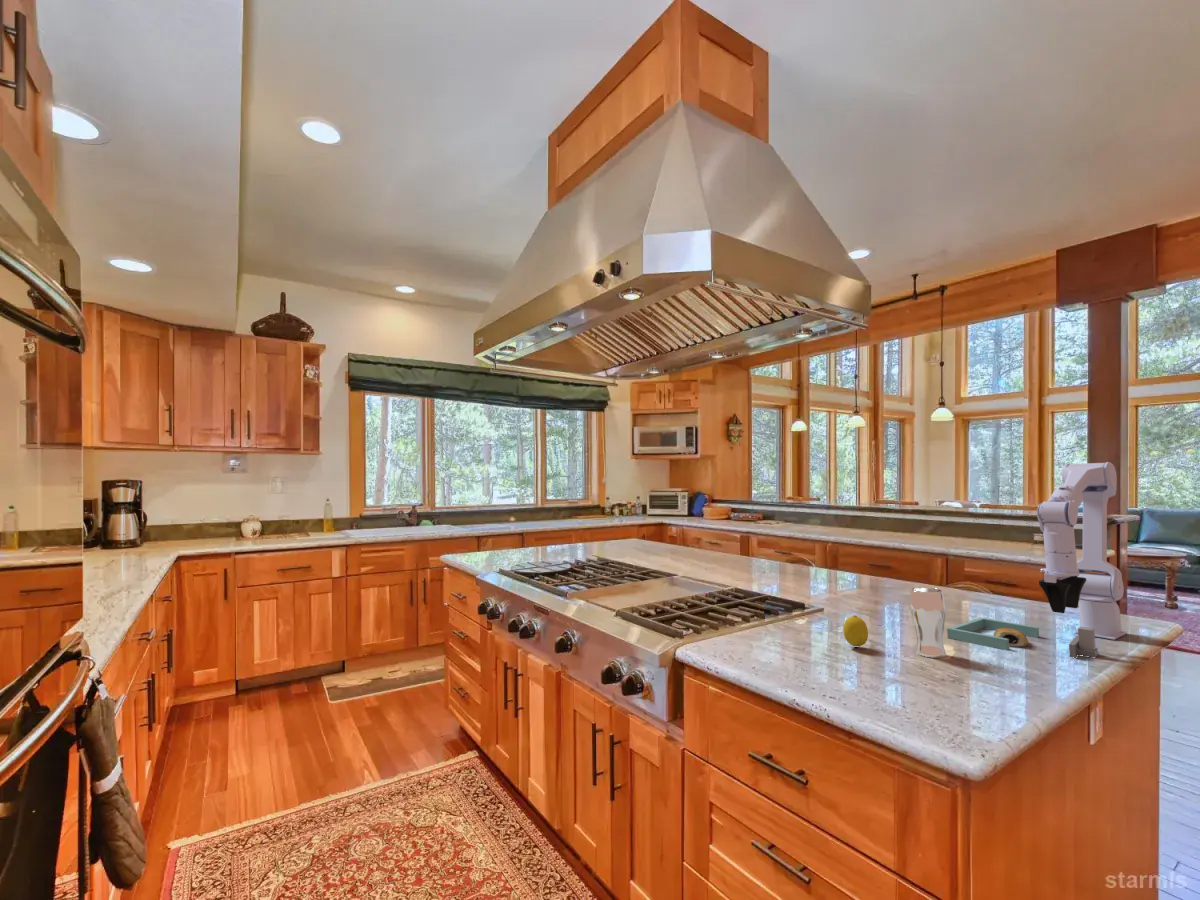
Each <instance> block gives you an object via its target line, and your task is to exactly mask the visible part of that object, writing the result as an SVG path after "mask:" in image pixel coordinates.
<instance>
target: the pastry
mask: <svg viewBox="0 0 1200 900" xmlns="http://www.w3.org/2000/svg"><path fill="white" fill-rule="evenodd" d="M993 636H996V637H1001V638H1006V639H1009V647H1016V648H1025V647H1027V646H1028V645H1029V640H1028V638H1027V636H1025V635H1024V634H1023V633H1022V632H1020V631H1017V630H1015V629H1009V628H1001V629H997V630H994V633H993Z"/></svg>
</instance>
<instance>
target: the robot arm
mask: <svg viewBox="0 0 1200 900" xmlns="http://www.w3.org/2000/svg"><path fill="white" fill-rule="evenodd" d="M1061 479H1062V482H1063V484H1062V485H1060V484H1059V486H1058V487H1056V488H1055V489H1054V491H1053V492H1052V494H1051V495H1050V496H1049V498H1048V499H1047V501H1042V502H1041V503H1039V504H1038V505H1037V508H1036V516H1037V521H1038V522H1039V529H1040V532H1041V533H1043V534H1042V535H1043V545H1044V559H1045V568H1043V567H1042V568H1040V571H1039V572H1041V573H1043V579H1040V580H1038V585H1039V586H1040V588H1041V589H1042V591H1043V592H1044V594H1045V595H1046V598H1047V601H1048V603H1049V605H1050V608H1051V611H1052V612H1053V613H1059V614H1064V613H1065V612H1066V608H1072V609H1078V611H1079V612H1078V613H1079V615H1078V616H1079V625H1080V626H1079V627H1087V628H1094V632H1095V638H1102V639H1107V640H1117V639H1119V638H1121V637H1122V636H1123V637H1124V636H1125V635H1127V634H1128V633H1127V631H1125V630H1122V623H1121V622H1122V621H1121V609H1120V607H1119V605H1118V603H1117V601H1120V600H1121V599H1122V598H1123V596H1124V594H1125V593H1124V592H1125V590H1124V589H1125V586H1124V581H1123V575H1122V572H1121V571H1120V569H1119V568H1118V567H1116V566H1115V565H1114V564H1112V563H1110V562H1108V561H1107V560H1108V556H1107V555H1108V547H1107V546H1108V545H1107V544H1108V541H1107V540H1108V526H1107V525H1108V518H1107V517H1108V501H1109V498H1112V497H1115V496H1116V494H1117V489H1118V488H1117V487H1118V485H1117V484H1118V482H1117V481H1118V480H1117V471H1116V467H1115V465H1114V464H1113V463H1112V462H1110V461H1106V462H1092V463H1065V464H1064V465H1063V466H1062V468H1061ZM1081 504H1082V557H1081V559H1080V560H1077V550H1076V538H1075V537H1076V536H1075V526H1076V525H1077V524H1078V523H1077V522H1078V515H1079V507H1080V506H1081ZM1073 632H1074V634H1078V629H1076V630H1074V631H1073Z"/></svg>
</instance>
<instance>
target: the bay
mask: <svg viewBox="0 0 1200 900" xmlns="http://www.w3.org/2000/svg"><path fill="white" fill-rule="evenodd" d="M982 628H983V629H987V628H988V629H987V630H992V629H993V630H994V631H996V630H997V629H1001V628H1009V629H1015V630H1017V631H1020V632H1022V633H1023V634H1024V635H1026V637H1032V638H1037V639H1038V638H1039V637H1040V627H1038V626H1033V625H1027V624H1022V623H1015V622H1009V621H1005V620H1003V621H1002V620H997V619H991V618H984V617H979V618H978V617H977V618H975V619H972V620H969V621H966V622H963V623H960V624H957V625H954V626H949V627H947V628H946V632H947V633H946V634H947V635H946V636H947V639H950V638H951V640H955V639H956V641H960V642H966V643H971V644H975V645H980V646H984V645H985V647H990V648H994V649H999V650H1004V651H1008V650H1010V646H1009V639H1006V638H1001V637H996V636H994V635H990V634H984V633H979V632H977V631H980V630H983V629H982ZM979 629H980V630H979Z"/></svg>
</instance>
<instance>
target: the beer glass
mask: <svg viewBox="0 0 1200 900" xmlns="http://www.w3.org/2000/svg"><path fill="white" fill-rule="evenodd" d="M943 592H944V591H943V590H942V589H940V588H936V587H930V586H929V587H928V586H927V587H926V586H918V587H917V586H916V587H911V588H910V612H911V618H912V621H913V626H914V630H915V633H916V646H915V654H916V655H918V654H919V655H918V656H920V655H922V656H921V657H924V656H925V658H929V657H930V659H943V658H946V656H947V655H946V654H947V653H946V649H945V647H944V637H943V636H944V630H945V629H944V628H945V622H946V606H945V598H944V593H943Z"/></svg>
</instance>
